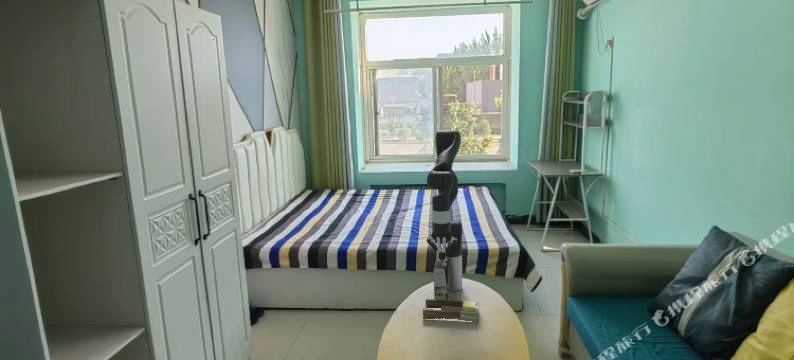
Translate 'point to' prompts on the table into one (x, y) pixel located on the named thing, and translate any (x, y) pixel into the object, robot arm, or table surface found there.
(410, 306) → the table surface
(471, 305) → the ochre block
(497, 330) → the table surface
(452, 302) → the channel
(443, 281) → the coffee box
